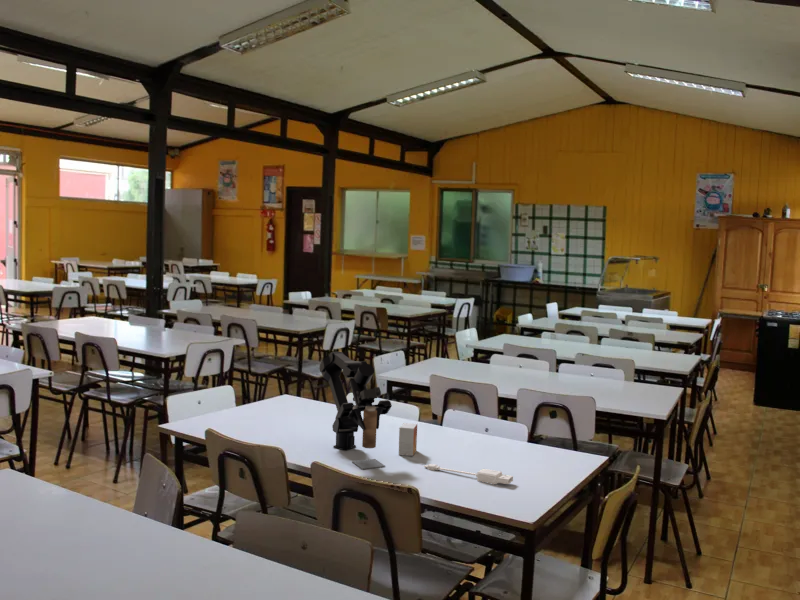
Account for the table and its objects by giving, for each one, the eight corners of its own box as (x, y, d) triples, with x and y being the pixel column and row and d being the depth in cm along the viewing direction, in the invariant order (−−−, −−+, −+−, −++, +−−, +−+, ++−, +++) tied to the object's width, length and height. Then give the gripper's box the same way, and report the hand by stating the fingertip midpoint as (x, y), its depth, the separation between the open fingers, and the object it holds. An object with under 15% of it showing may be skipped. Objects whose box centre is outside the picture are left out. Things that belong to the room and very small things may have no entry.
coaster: (352, 462, 261) (352, 461, 261) (375, 459, 265) (375, 458, 264) (361, 469, 253) (361, 468, 252) (385, 467, 256) (385, 465, 256)
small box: (412, 456, 271) (413, 428, 270) (398, 455, 272) (399, 427, 271) (416, 450, 278) (417, 423, 278) (402, 449, 279) (403, 422, 279)
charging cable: (428, 469, 260) (428, 459, 259) (513, 483, 243) (513, 473, 243) (421, 472, 255) (421, 463, 255) (507, 487, 239) (507, 477, 238)
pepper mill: (359, 446, 257) (361, 407, 256) (367, 443, 261) (368, 404, 260) (370, 449, 255) (372, 409, 254) (378, 446, 259) (379, 406, 258)
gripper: (342, 380, 256) (353, 419, 247) (390, 378, 264) (402, 415, 255) (334, 398, 263) (344, 435, 254) (380, 394, 271) (392, 431, 262)
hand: (371, 429), depth 256 cm, fingers closed on pepper mill, 5 cm apart
